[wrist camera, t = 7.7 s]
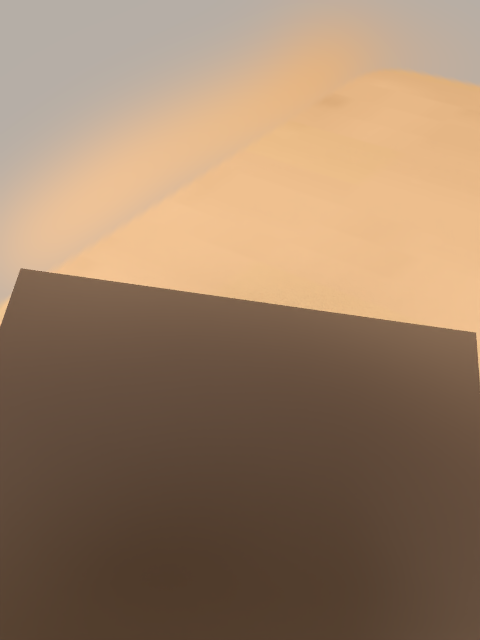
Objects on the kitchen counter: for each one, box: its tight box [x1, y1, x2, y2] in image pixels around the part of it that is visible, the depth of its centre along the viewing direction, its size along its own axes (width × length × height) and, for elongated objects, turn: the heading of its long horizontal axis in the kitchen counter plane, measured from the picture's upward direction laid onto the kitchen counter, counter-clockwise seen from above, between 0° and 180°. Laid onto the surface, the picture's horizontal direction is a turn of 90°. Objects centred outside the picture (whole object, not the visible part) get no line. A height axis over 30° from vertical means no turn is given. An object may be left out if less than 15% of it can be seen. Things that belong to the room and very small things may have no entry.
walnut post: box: [0, 269, 480, 640], centre depth 9 cm, size 5×5×12 cm
